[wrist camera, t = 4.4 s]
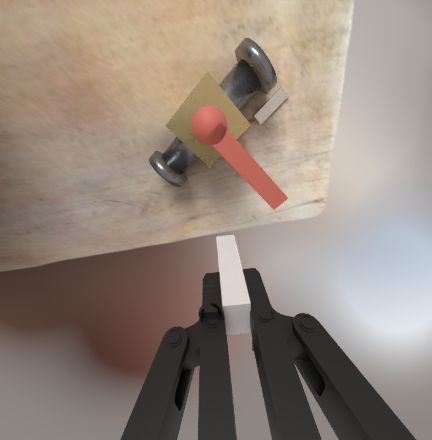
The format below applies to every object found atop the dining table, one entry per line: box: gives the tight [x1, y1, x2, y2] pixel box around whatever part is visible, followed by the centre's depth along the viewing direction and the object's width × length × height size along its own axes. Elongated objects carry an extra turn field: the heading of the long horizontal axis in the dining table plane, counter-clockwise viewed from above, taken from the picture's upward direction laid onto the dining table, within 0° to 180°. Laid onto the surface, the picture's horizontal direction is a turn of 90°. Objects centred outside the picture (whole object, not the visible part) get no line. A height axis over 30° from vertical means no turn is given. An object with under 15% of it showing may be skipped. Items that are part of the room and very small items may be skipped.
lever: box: [192, 106, 288, 209], centre depth 21 cm, size 14×4×1 cm, turn 45°
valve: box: [149, 38, 288, 187], centre depth 24 cm, size 20×9×9 cm, turn 135°
